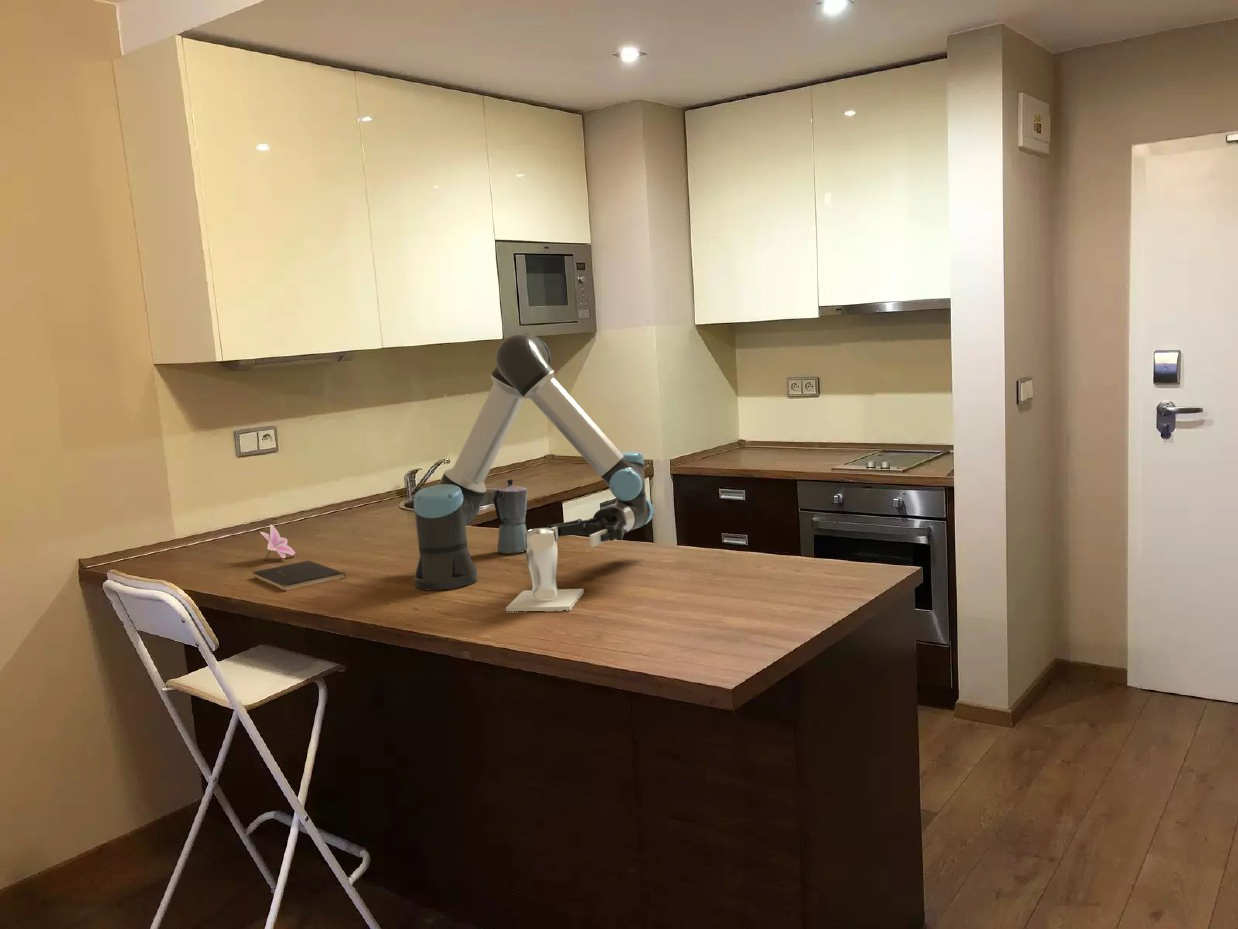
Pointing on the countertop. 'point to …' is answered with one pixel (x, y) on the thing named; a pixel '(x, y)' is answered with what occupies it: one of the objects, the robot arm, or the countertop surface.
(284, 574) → the hardcover book
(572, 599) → the mat
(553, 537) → the beer glass
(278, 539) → the lily
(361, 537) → the countertop surface
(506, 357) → the robot arm
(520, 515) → the moka pot
